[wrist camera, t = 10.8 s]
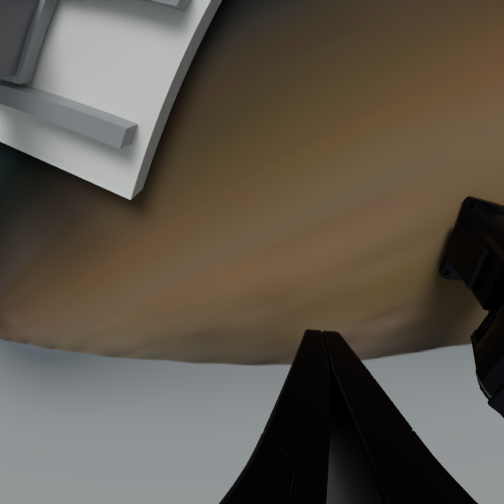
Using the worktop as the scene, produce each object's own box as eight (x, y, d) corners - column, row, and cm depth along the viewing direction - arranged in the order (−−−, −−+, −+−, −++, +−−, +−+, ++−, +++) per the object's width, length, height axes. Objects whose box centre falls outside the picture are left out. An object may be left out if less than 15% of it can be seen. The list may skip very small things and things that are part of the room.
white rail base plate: (244, -39, 12) (237, -61, 9) (142, 188, 20) (120, 210, 17) (40, -61, 10) (12, -69, 7) (-18, 120, 18) (-47, 130, 15)
